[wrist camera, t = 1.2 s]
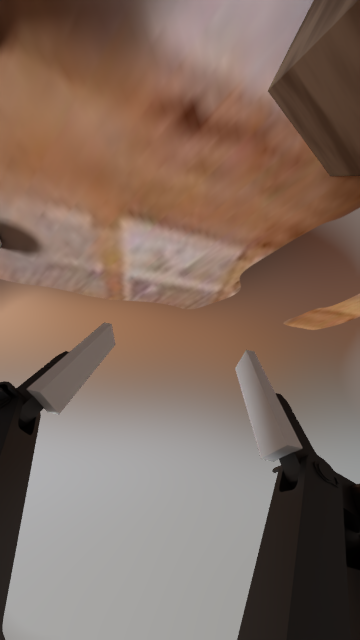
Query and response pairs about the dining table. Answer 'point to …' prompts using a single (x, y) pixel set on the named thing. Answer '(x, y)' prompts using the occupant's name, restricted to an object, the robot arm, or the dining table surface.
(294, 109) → the walnut stand
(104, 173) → the dining table surface
